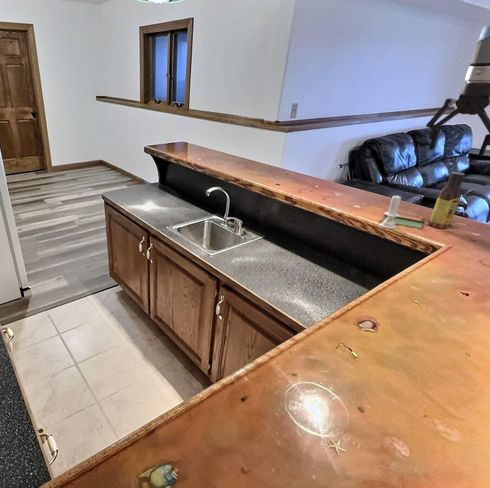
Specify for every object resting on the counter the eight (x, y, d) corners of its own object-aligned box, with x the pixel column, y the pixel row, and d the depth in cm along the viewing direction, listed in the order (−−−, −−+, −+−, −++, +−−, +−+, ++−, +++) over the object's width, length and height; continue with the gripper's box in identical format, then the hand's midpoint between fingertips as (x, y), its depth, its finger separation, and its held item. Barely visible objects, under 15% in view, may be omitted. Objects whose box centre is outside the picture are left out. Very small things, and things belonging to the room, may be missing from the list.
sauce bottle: (445, 231, 125) (466, 176, 117) (425, 225, 129) (444, 173, 121) (451, 226, 129) (471, 173, 120) (431, 221, 133) (450, 170, 125)
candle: (383, 222, 133) (391, 191, 127) (398, 226, 129) (408, 195, 124) (377, 225, 130) (386, 194, 124) (393, 230, 126) (403, 198, 121)
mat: (422, 220, 134) (423, 219, 134) (421, 229, 127) (421, 228, 127) (387, 214, 140) (387, 213, 140) (383, 221, 133) (383, 220, 133)
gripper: (428, 82, 114) (408, 148, 123) (532, 82, 96) (500, 160, 105) (436, 81, 118) (417, 146, 127) (537, 82, 100) (506, 157, 109)
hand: (454, 152), depth 116 cm, fingers open, 13 cm apart
